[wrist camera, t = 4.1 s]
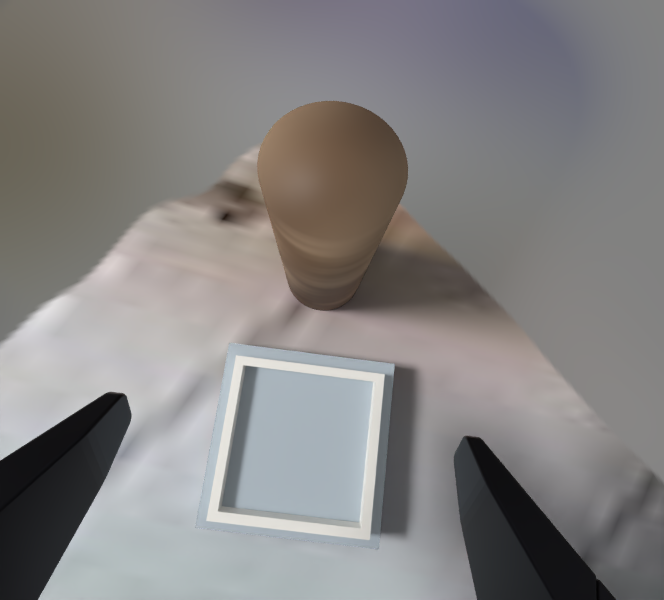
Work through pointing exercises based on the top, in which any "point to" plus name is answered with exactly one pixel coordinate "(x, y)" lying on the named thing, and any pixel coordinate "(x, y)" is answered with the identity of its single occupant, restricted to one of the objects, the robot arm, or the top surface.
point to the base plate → (299, 447)
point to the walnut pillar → (330, 195)
